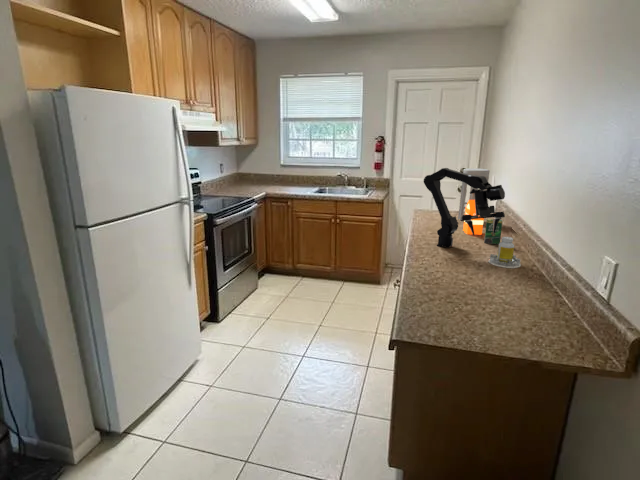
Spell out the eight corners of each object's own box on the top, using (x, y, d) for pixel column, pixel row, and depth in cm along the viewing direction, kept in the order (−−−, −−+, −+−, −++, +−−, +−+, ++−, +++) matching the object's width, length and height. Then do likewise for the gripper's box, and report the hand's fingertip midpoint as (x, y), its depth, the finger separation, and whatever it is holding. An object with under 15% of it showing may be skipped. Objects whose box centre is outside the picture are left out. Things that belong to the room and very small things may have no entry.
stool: (453, 219, 269) (459, 168, 259) (472, 218, 273) (478, 168, 264) (467, 224, 254) (474, 170, 245) (487, 223, 259) (494, 170, 250)
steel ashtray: (485, 264, 177) (486, 258, 176) (491, 256, 188) (492, 250, 188) (518, 270, 170) (519, 263, 169) (522, 262, 181) (523, 255, 181)
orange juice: (481, 234, 230) (486, 201, 224) (466, 234, 230) (470, 200, 225) (477, 231, 237) (481, 198, 232) (462, 231, 238) (466, 198, 232)
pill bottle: (513, 265, 176) (517, 240, 172) (498, 263, 177) (501, 239, 174) (509, 260, 182) (513, 236, 179) (494, 259, 183) (498, 235, 180)
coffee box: (483, 243, 212) (486, 219, 209) (483, 241, 215) (486, 218, 211) (499, 244, 209) (503, 221, 205) (499, 243, 212) (503, 220, 208)
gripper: (463, 202, 182) (465, 236, 182) (506, 198, 177) (508, 232, 178) (460, 204, 193) (462, 235, 193) (500, 200, 188) (503, 232, 188)
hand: (483, 234), depth 187 cm, fingers open, 9 cm apart
